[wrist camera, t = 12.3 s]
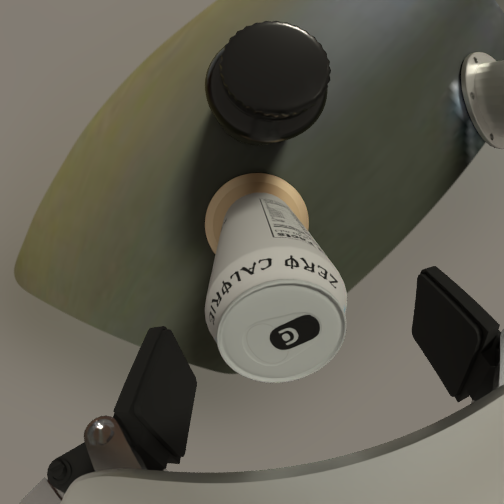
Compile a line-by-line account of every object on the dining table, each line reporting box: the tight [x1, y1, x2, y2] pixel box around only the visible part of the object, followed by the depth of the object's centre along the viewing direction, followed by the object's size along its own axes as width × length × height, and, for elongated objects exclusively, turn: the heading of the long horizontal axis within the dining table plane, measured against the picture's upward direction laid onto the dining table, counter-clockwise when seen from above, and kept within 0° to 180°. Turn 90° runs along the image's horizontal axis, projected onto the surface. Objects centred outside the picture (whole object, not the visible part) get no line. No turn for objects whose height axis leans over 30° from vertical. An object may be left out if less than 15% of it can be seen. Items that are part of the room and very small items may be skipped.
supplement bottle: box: [205, 21, 331, 145], centre depth 15 cm, size 7×7×12 cm
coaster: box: [205, 173, 309, 254], centre depth 24 cm, size 9×9×1 cm
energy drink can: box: [205, 193, 347, 383], centre depth 17 cm, size 6×6×15 cm
